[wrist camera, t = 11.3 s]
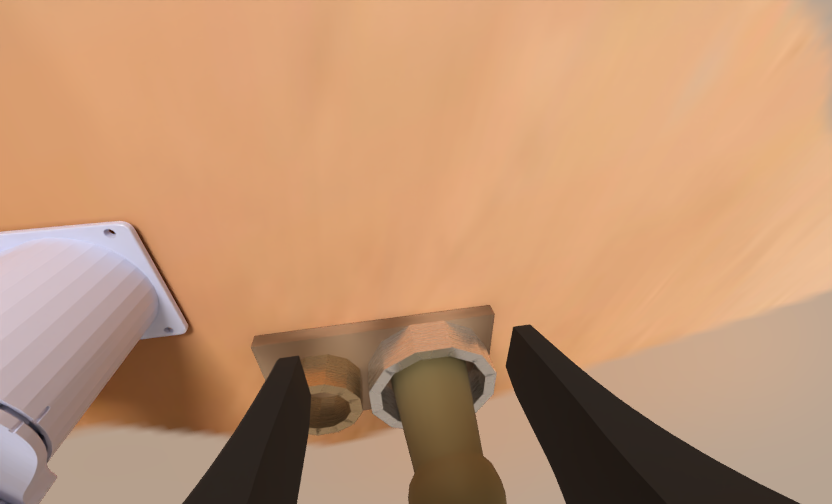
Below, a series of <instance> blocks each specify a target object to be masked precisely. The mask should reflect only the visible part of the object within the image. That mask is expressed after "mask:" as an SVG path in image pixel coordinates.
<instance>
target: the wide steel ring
mask: <svg viewBox="0 0 832 504" xmlns="http://www.w3.org/2000/svg"><path fill="white" fill-rule="evenodd" d="M447 356H450V357H454V358H458V359H462V360H466V361H470V362H473V363H474V365H473V368H472V369H471V370H470V371H469V372H468V377H469V382H470V388H471V393H472V398H473V404H474V409H475V413H476V412H477V411H478V410H479V409H480V408H481V407H482V406H483V405H484V404H485V402H486V401H487V400H488V399H489V398H490V397H491V396H492V395H493V393H494V386H495V380H496V371H495V368H494V366H493V364H492V361H491V359H490V357H489V354H488V352H487V350H486V347H485V346H484V344H483V343H482V342H481V340H480V339H479V338H478V337H477V335H476V334H475V333H474V331H473V330H472V329H470V328H467V327H464V326H460V325H457V324H454V323H450V322H447V321H436V322H429V323H422V324H414V325H409V326H407V327H406V328H404V329H402V330H400V331H399V332H397V333H395V334H393V335H392V336H390V337H388V338H387V339H385V340H383V341H381V343H380V345H379V346H378V348H377V349H376V351H375V353H374V354H373V356H372V357H371V359H370V361H369V362H368V382H369V396H370V402H371V407H372V413H373V414H374V415H375V416H377V417H378V418H380V419H381V420H382V421H384V422H385V423H387V424H388V425H389V426H391V427H394V428H401V429H403V426H402V422H401V418H400V414H399V410H398V407H397V403H396V399H395V395H394V391H393V390H392V389H391V388H390V387H388V386H387V383H388V382H389V380H390V379H391V377H392V376H393V375H394V374H395V373H397V372H399V371H401V370H403V369H404V368H406V367H408V366H410V365H412V364H414V363H415V362H417V361H419V360H426V359H433V358H440V357H447Z"/></svg>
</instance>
